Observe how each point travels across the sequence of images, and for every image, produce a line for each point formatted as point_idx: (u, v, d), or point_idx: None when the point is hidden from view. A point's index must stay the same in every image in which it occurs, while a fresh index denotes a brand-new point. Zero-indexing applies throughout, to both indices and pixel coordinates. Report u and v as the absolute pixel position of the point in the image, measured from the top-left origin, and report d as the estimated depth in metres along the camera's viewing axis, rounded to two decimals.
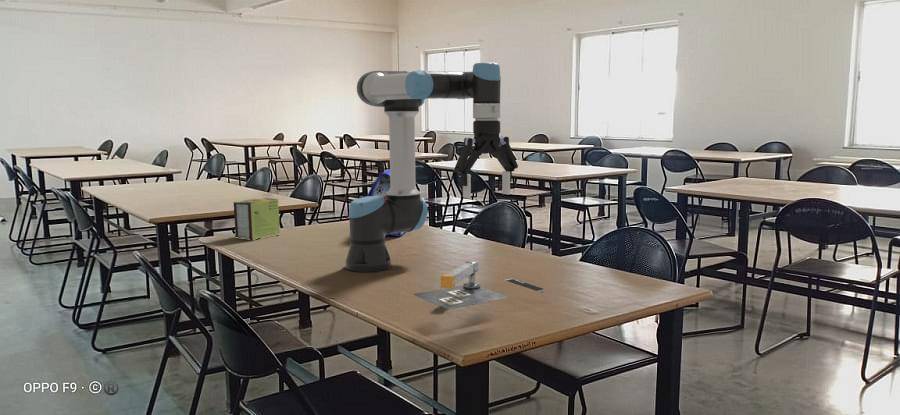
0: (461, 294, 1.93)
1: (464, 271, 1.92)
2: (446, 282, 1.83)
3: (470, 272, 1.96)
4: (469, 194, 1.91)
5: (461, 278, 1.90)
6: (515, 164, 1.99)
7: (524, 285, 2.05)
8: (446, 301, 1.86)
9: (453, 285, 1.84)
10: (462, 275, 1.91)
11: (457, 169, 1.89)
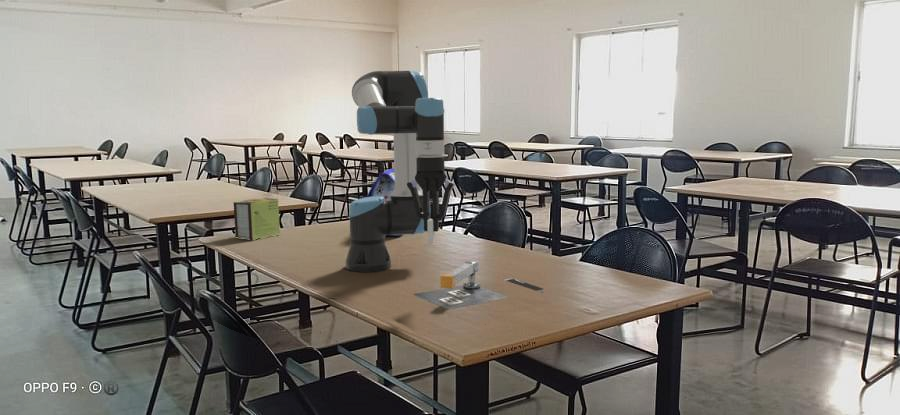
0: (461, 294, 1.93)
1: (464, 271, 1.92)
2: (446, 282, 1.83)
3: (470, 272, 1.96)
4: (429, 240, 1.88)
5: (461, 278, 1.90)
6: (441, 213, 1.86)
7: (524, 285, 2.05)
8: (446, 301, 1.86)
9: (453, 285, 1.84)
10: (462, 275, 1.91)
11: None
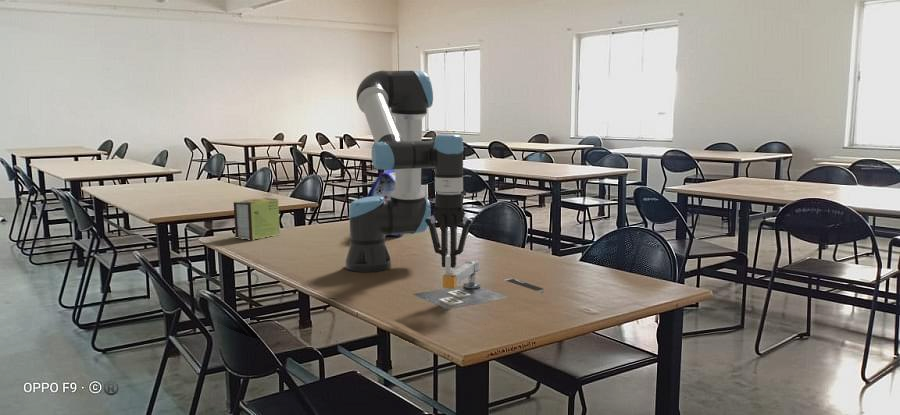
0: (461, 294, 1.93)
1: (465, 271, 1.92)
2: (448, 282, 1.83)
3: (470, 272, 1.96)
4: None
5: (462, 278, 1.90)
6: (459, 249, 1.86)
7: (524, 285, 2.05)
8: (446, 301, 1.86)
9: (455, 285, 1.84)
10: (463, 275, 1.91)
11: None
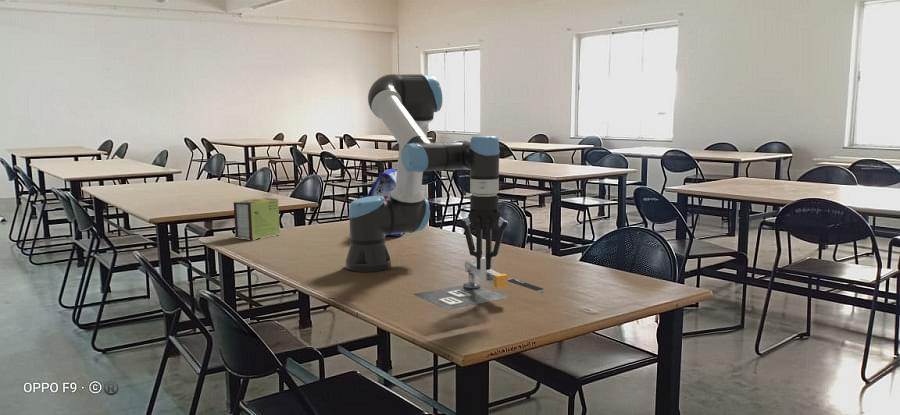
0: (461, 294, 1.93)
1: None
2: (502, 281, 1.83)
3: None
4: (481, 278, 1.86)
5: None
6: (495, 251, 1.85)
7: (524, 285, 2.05)
8: (446, 301, 1.86)
9: None
10: None
11: None
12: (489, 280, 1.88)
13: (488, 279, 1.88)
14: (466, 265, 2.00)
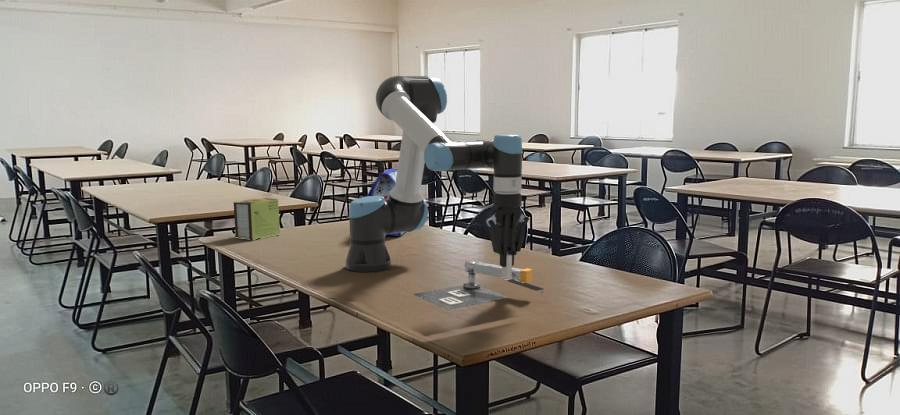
0: (461, 294, 1.93)
1: None
2: (529, 276, 1.89)
3: None
4: (508, 275, 1.89)
5: None
6: (519, 247, 1.90)
7: (524, 285, 2.05)
8: (446, 301, 1.86)
9: None
10: None
11: (496, 252, 1.88)
12: None
13: None
14: (469, 265, 1.99)
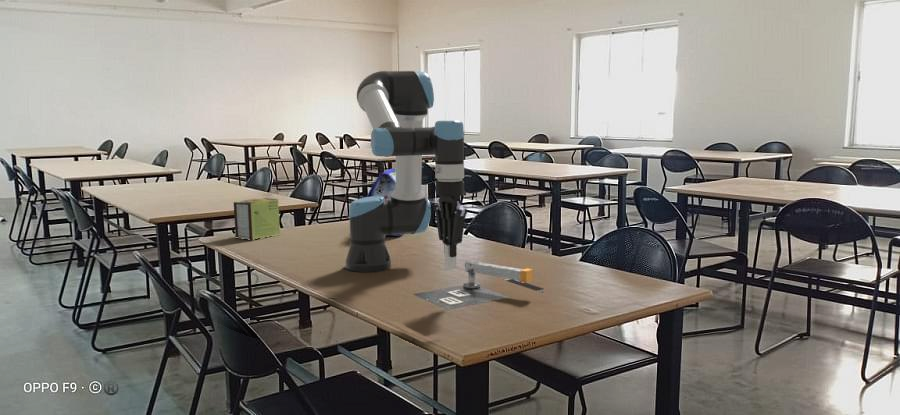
0: (461, 294, 1.93)
1: None
2: (529, 276, 1.89)
3: None
4: (445, 264, 1.85)
5: None
6: (453, 239, 1.81)
7: (524, 285, 2.05)
8: (446, 301, 1.86)
9: None
10: None
11: None
12: (510, 276, 1.91)
13: (508, 276, 1.92)
14: (469, 265, 1.99)
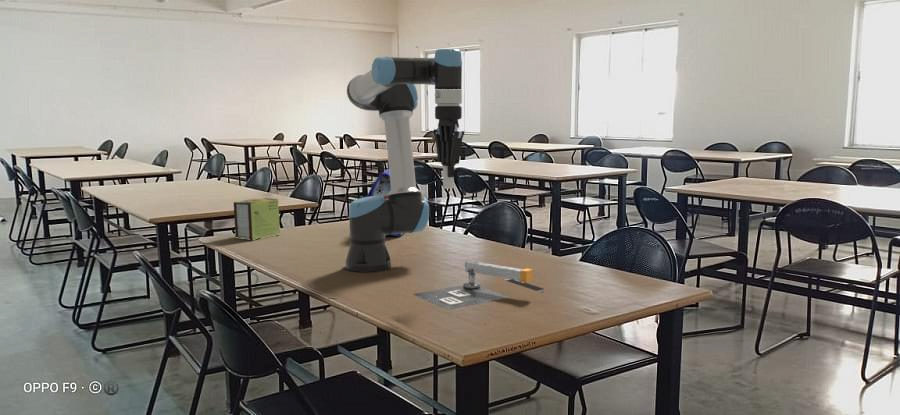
0: (461, 294, 1.93)
1: None
2: (529, 276, 1.89)
3: None
4: (443, 184, 2.00)
5: None
6: (451, 159, 1.95)
7: (524, 285, 2.05)
8: (446, 301, 1.86)
9: None
10: None
11: None
12: (510, 276, 1.91)
13: (508, 276, 1.92)
14: (469, 265, 1.99)
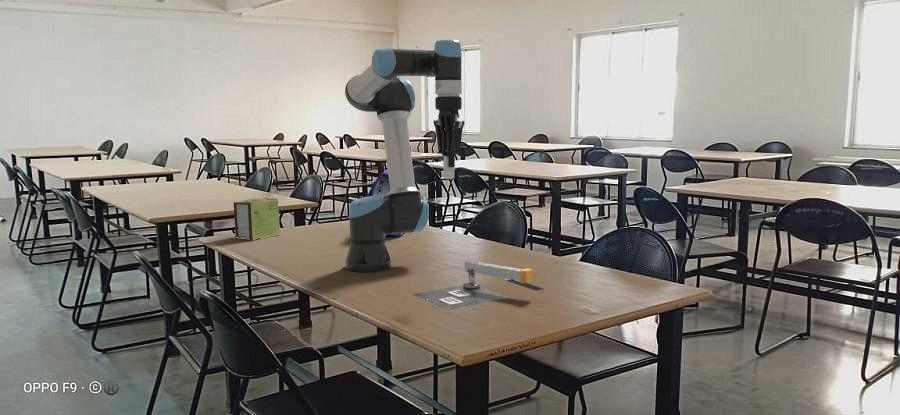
0: (461, 294, 1.93)
1: None
2: (529, 276, 1.89)
3: None
4: (444, 175, 2.01)
5: None
6: (451, 149, 1.97)
7: (524, 285, 2.05)
8: (446, 301, 1.86)
9: None
10: None
11: None
12: (510, 276, 1.91)
13: (508, 276, 1.92)
14: (469, 265, 1.99)
